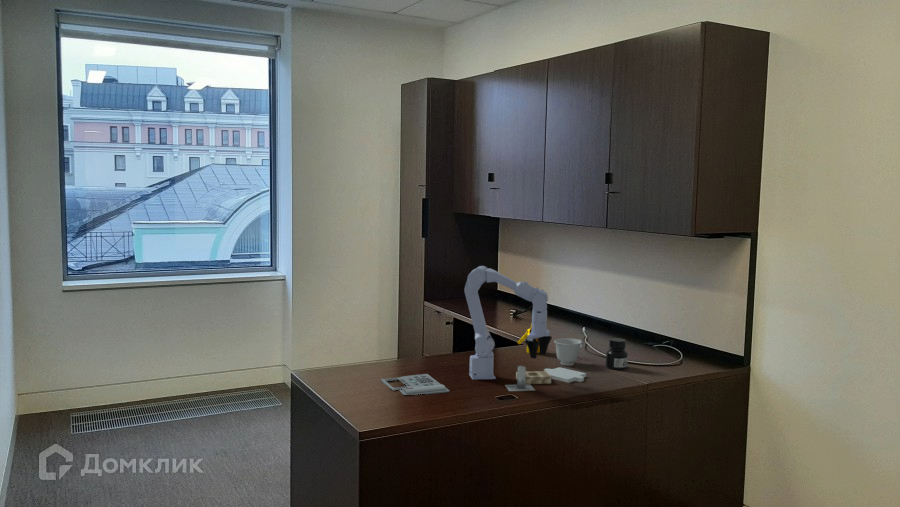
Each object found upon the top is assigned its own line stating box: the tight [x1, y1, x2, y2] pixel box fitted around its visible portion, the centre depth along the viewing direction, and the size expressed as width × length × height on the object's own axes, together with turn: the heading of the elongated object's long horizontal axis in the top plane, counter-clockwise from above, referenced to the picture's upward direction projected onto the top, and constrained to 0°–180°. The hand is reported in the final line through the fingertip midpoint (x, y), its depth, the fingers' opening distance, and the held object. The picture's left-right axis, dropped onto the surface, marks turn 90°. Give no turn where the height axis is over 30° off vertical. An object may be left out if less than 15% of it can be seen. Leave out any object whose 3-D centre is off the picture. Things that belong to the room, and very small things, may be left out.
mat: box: [504, 384, 536, 392], centre depth 267 cm, size 10×8×1 cm
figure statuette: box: [517, 322, 540, 354], centre depth 323 cm, size 18×8×22 cm, turn 42°
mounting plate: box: [543, 366, 587, 384], centre depth 284 cm, size 18×13×2 cm
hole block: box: [515, 370, 552, 385], centre depth 276 cm, size 12×8×3 cm, turn 98°
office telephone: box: [380, 373, 450, 396], centre depth 268 cm, size 23×3×20 cm
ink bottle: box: [605, 337, 629, 371], centre depth 299 cm, size 10×9×12 cm
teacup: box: [553, 337, 584, 366], centre depth 305 cm, size 12×15×10 cm
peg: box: [516, 365, 527, 389], centre depth 267 cm, size 3×3×8 cm
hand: (538, 356), depth 276 cm, fingers open, 7 cm apart
